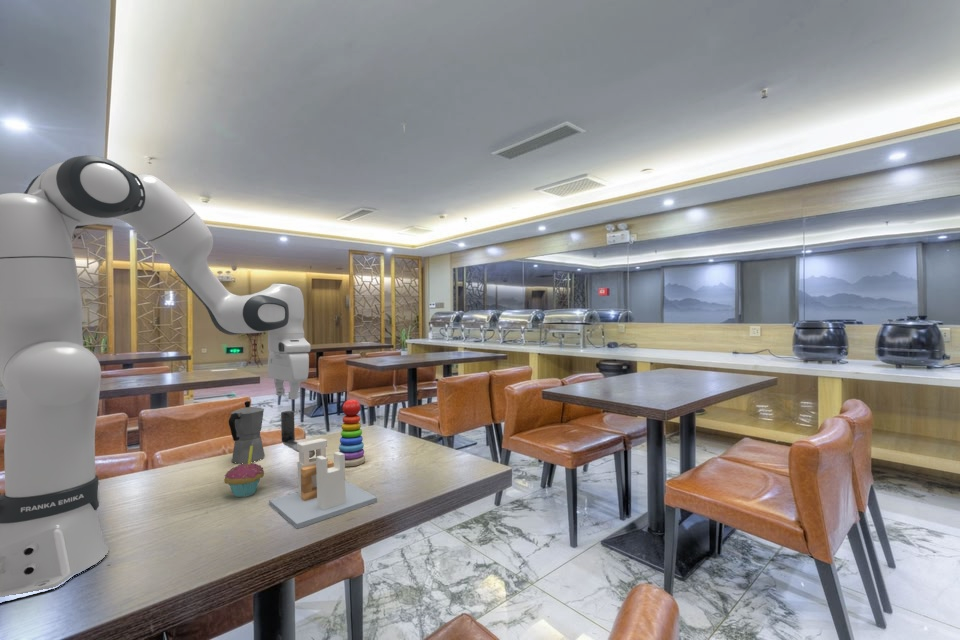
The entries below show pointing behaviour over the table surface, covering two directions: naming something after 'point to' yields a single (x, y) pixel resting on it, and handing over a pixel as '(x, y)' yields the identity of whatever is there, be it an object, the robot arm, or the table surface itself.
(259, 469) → the cupcake
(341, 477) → the stand
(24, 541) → the robot arm
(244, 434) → the coffeepot
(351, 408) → the stacking toy
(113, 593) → the table surface
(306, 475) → the collar
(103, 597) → the table surface
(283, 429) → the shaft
